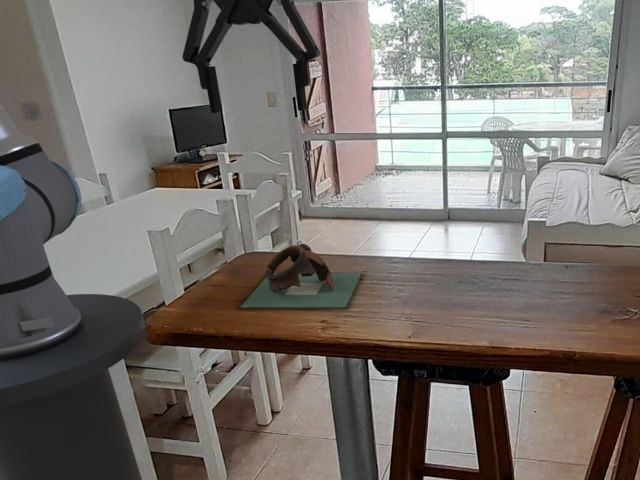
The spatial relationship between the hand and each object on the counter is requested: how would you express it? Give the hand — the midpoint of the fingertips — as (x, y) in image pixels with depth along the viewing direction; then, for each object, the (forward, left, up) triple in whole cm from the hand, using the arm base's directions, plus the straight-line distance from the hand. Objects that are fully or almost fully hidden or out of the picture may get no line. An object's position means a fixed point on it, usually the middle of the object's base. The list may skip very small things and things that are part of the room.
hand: (259, 111), depth 88 cm
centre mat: (+6, -8, -27) cm, 29 cm away
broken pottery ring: (+6, -8, -26) cm, 28 cm away
